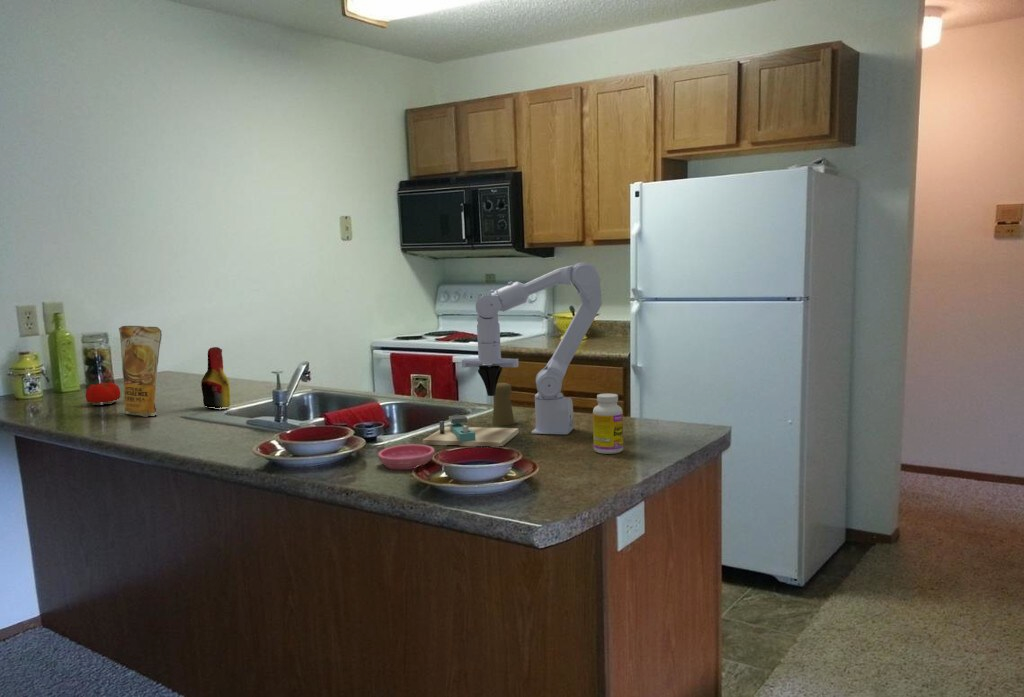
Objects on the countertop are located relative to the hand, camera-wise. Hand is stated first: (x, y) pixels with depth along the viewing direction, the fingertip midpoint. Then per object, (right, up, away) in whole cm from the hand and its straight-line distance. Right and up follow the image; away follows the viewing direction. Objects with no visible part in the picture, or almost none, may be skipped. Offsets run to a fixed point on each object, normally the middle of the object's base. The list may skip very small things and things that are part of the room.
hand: (491, 395), depth 194 cm
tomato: (-135, -8, +69) cm, 152 cm away
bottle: (-89, -8, +52) cm, 104 cm away
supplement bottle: (+27, -12, -21) cm, 36 cm away
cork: (+3, -9, +13) cm, 16 cm away
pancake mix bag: (-111, -9, +47) cm, 121 cm away
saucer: (-18, -14, -25) cm, 34 cm away
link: (-7, -10, -5) cm, 13 cm away
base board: (-5, -11, -4) cm, 12 cm away
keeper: (-10, -10, +1) cm, 14 cm away
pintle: (-6, -10, -10) cm, 15 cm away
